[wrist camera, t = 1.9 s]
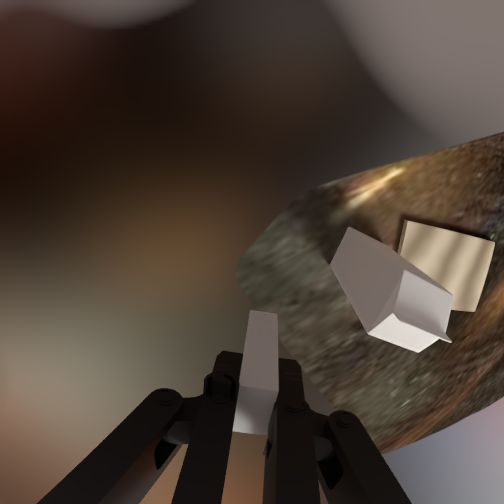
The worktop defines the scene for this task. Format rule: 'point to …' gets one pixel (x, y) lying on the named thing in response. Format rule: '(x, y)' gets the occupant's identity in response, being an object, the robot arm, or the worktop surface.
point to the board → (448, 260)
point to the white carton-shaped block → (391, 293)
